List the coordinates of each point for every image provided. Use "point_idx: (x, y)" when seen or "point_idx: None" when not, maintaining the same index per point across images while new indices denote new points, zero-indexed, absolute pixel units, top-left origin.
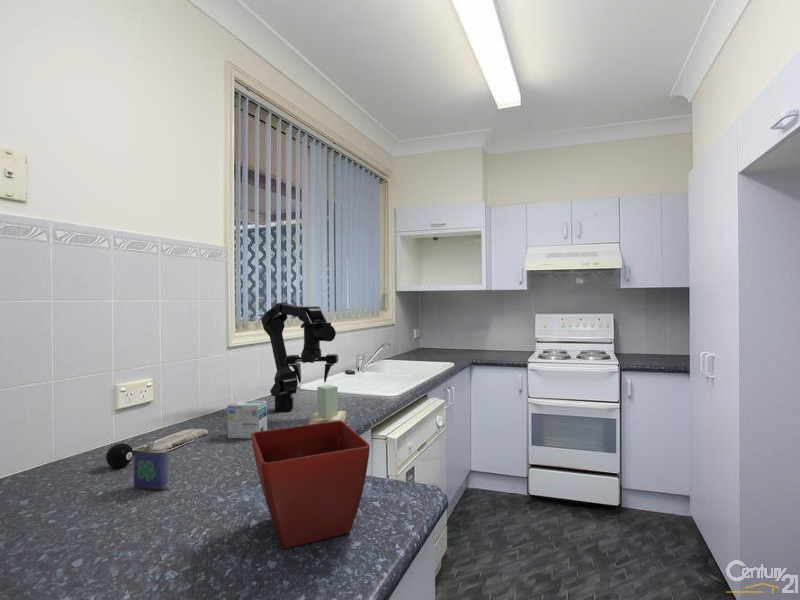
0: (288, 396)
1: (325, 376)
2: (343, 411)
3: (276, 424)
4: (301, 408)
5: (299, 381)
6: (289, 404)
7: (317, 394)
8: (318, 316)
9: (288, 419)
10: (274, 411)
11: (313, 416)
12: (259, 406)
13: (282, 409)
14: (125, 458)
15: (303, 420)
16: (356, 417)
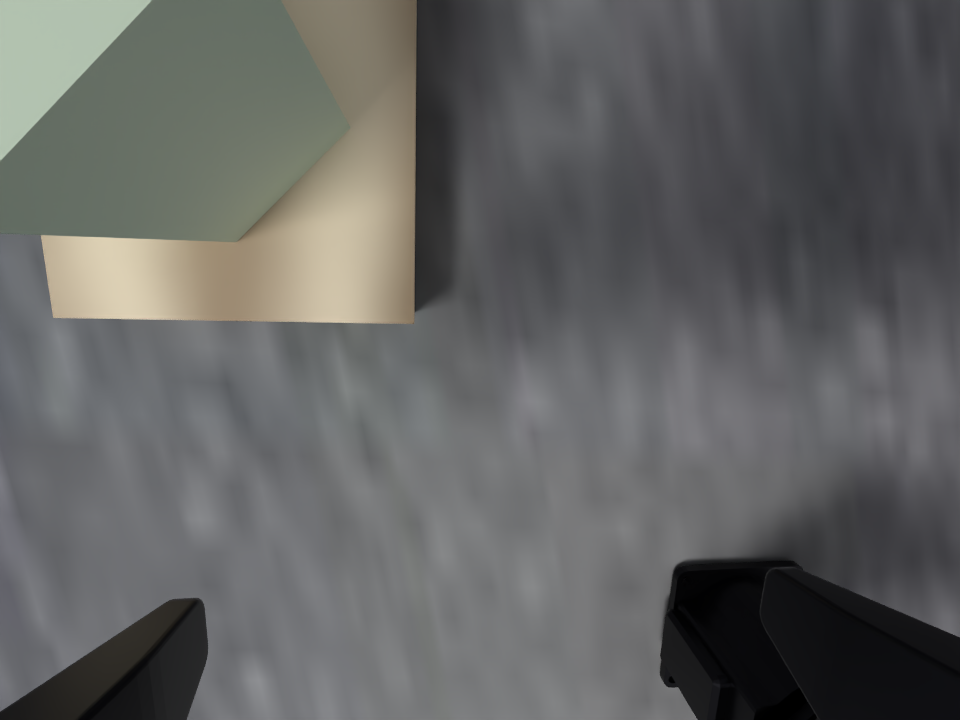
0: (766, 693)
1: (38, 711)
2: (74, 289)
3: (732, 183)
4: (596, 669)
5: (808, 579)
6: (709, 631)
7: (291, 20)
8: None
9: (654, 339)
10: (792, 562)
11: (393, 88)
12: None
13: (742, 581)
14: None
15: (521, 295)
16: (11, 364)
